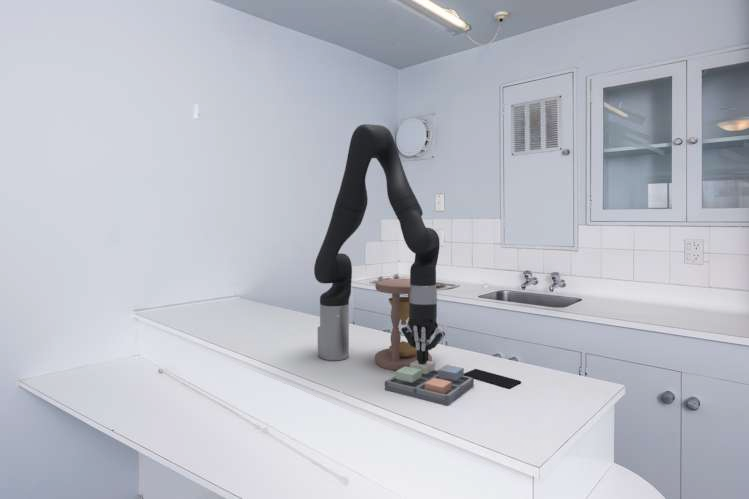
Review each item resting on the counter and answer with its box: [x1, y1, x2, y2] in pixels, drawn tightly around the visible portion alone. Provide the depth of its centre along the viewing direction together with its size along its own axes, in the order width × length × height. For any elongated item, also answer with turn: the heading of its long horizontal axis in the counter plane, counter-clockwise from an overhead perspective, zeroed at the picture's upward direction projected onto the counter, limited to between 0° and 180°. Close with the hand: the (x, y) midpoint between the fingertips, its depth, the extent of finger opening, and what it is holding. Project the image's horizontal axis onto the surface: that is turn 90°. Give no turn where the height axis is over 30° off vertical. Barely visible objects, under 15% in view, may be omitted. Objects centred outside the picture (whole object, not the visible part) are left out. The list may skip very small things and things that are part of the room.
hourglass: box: [374, 278, 433, 372], centre depth 145 cm, size 18×18×25 cm
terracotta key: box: [425, 378, 451, 394], centre depth 119 cm, size 5×5×2 cm
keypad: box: [384, 369, 475, 407], centre depth 124 cm, size 18×16×2 cm
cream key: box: [410, 360, 436, 374], centre depth 130 cm, size 5×5×2 cm
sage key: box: [394, 366, 422, 382], centre depth 123 cm, size 5×5×2 cm
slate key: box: [437, 364, 465, 381], centre depth 125 cm, size 5×5×2 cm
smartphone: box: [464, 368, 522, 390], centre depth 131 cm, size 7×1×15 cm
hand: (422, 363), depth 129 cm, fingers closed
